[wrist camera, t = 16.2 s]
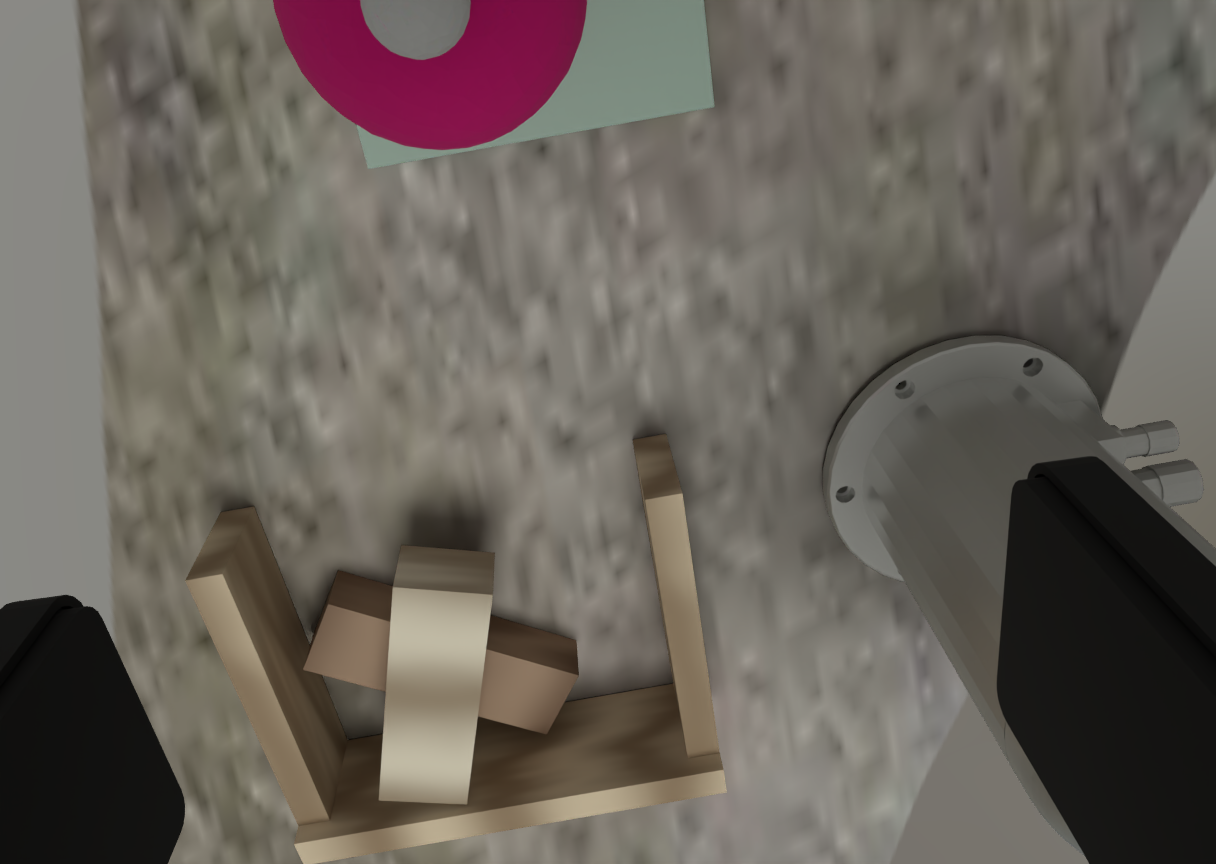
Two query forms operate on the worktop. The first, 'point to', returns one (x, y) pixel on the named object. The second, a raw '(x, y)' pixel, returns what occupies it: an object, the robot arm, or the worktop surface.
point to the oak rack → (503, 754)
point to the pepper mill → (434, 62)
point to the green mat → (608, 76)
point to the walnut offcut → (513, 669)
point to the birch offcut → (435, 673)
